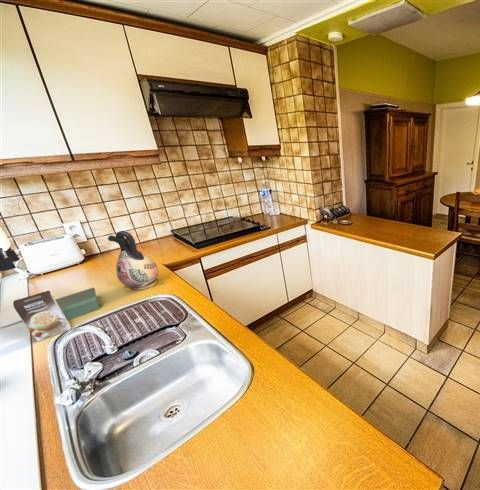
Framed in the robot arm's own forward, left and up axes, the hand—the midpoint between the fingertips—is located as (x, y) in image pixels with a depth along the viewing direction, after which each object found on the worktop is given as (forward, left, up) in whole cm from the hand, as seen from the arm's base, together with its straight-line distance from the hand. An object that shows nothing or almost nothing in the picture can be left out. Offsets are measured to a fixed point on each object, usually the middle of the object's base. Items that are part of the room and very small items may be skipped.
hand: (11, 265), depth 91 cm
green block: (+6, +13, -29) cm, 33 cm away
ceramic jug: (+31, +15, -30) cm, 45 cm away
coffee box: (0, 0, -30) cm, 30 cm away
